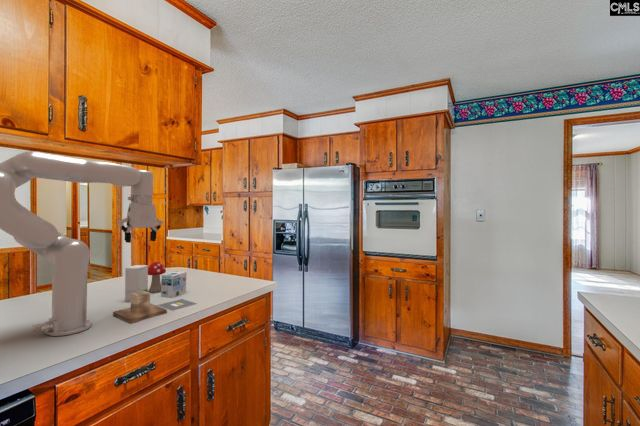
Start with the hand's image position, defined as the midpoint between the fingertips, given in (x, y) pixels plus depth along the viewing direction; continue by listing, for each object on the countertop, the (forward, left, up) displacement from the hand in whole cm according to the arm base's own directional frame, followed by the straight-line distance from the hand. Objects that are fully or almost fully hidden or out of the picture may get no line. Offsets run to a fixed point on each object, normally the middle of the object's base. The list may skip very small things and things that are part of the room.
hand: (140, 241), depth 127 cm
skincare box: (+8, +18, -29) cm, 35 cm away
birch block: (-1, -4, -28) cm, 28 cm away
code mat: (+15, -4, -29) cm, 33 cm away
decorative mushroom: (+21, +25, -29) cm, 44 cm away
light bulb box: (+23, +12, -29) cm, 39 cm away
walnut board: (-1, -4, -29) cm, 29 cm away
